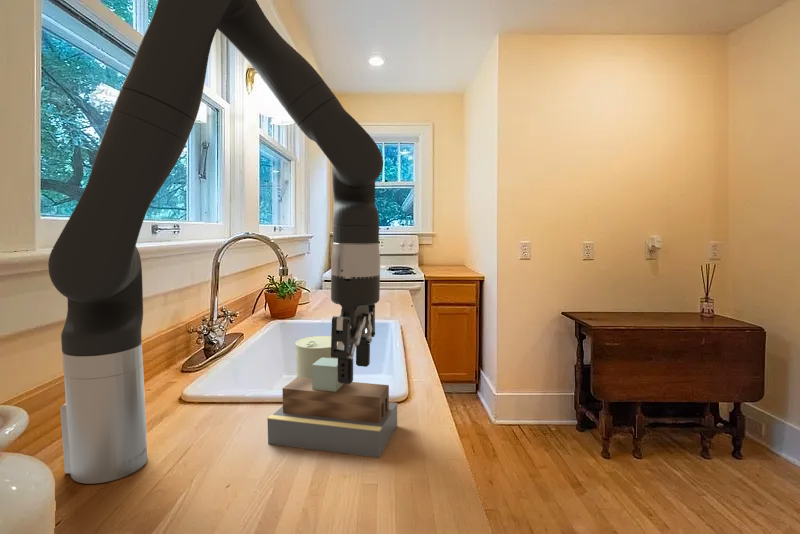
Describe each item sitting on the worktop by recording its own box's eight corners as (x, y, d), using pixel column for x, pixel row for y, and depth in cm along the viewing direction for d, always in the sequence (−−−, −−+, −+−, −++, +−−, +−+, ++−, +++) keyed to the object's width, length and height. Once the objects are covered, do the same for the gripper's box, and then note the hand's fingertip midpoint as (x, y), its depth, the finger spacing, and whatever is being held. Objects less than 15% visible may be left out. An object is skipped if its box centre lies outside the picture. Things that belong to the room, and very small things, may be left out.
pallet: (282, 412, 75) (282, 388, 75) (297, 399, 81) (297, 377, 80) (379, 423, 72) (379, 397, 71) (388, 408, 77) (388, 385, 77)
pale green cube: (312, 389, 75) (311, 364, 74) (321, 380, 79) (321, 357, 78) (336, 391, 74) (335, 366, 73) (344, 383, 78) (344, 359, 77)
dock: (268, 443, 74) (267, 417, 73) (298, 415, 84) (298, 392, 84) (379, 457, 69) (379, 430, 69) (397, 425, 80) (397, 402, 80)
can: (285, 403, 89) (284, 341, 88) (316, 388, 97) (315, 331, 96) (325, 413, 85) (324, 348, 84) (353, 396, 93) (353, 336, 92)
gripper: (348, 266, 81) (347, 359, 83) (314, 276, 67) (314, 386, 69) (390, 268, 79) (388, 363, 81) (364, 278, 65) (363, 392, 67)
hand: (354, 373), depth 75 cm, fingers open, 8 cm apart
